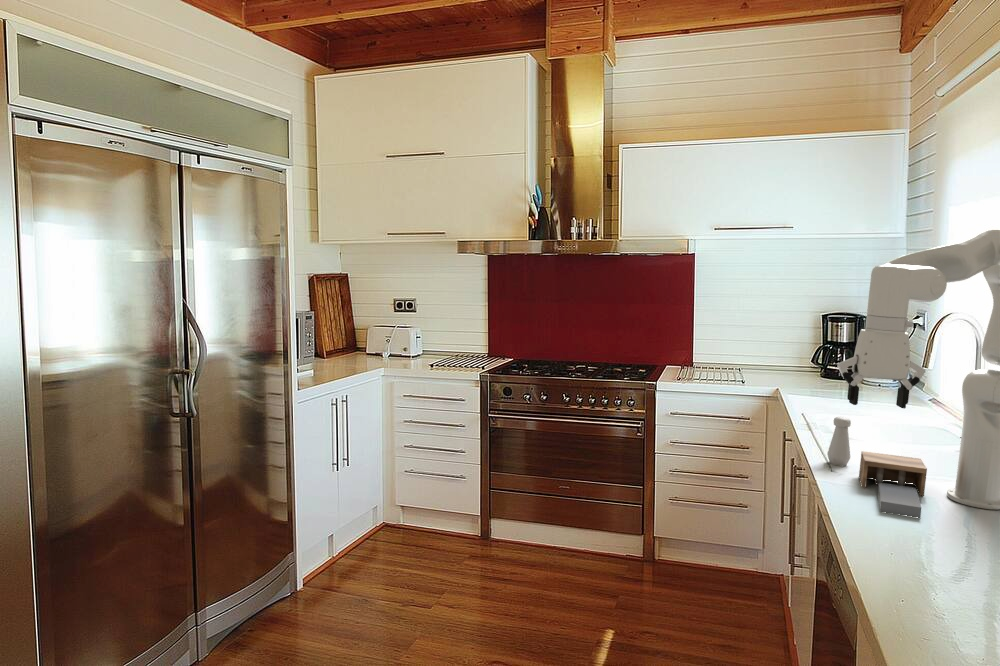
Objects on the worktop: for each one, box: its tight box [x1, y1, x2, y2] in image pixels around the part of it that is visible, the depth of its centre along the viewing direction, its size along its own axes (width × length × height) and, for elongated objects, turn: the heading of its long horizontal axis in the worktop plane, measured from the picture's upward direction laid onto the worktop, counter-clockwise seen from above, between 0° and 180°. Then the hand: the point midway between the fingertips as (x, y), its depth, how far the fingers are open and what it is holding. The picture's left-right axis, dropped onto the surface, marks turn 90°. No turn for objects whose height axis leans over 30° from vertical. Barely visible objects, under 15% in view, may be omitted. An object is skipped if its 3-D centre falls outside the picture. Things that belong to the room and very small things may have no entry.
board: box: [877, 482, 922, 519], centre depth 178 cm, size 16×8×3 cm, turn 156°
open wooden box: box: [858, 450, 928, 497], centre depth 192 cm, size 10×14×7 cm
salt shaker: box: [826, 416, 852, 467], centre depth 210 cm, size 6×6×13 cm
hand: (876, 405), depth 162 cm, fingers open, 9 cm apart
